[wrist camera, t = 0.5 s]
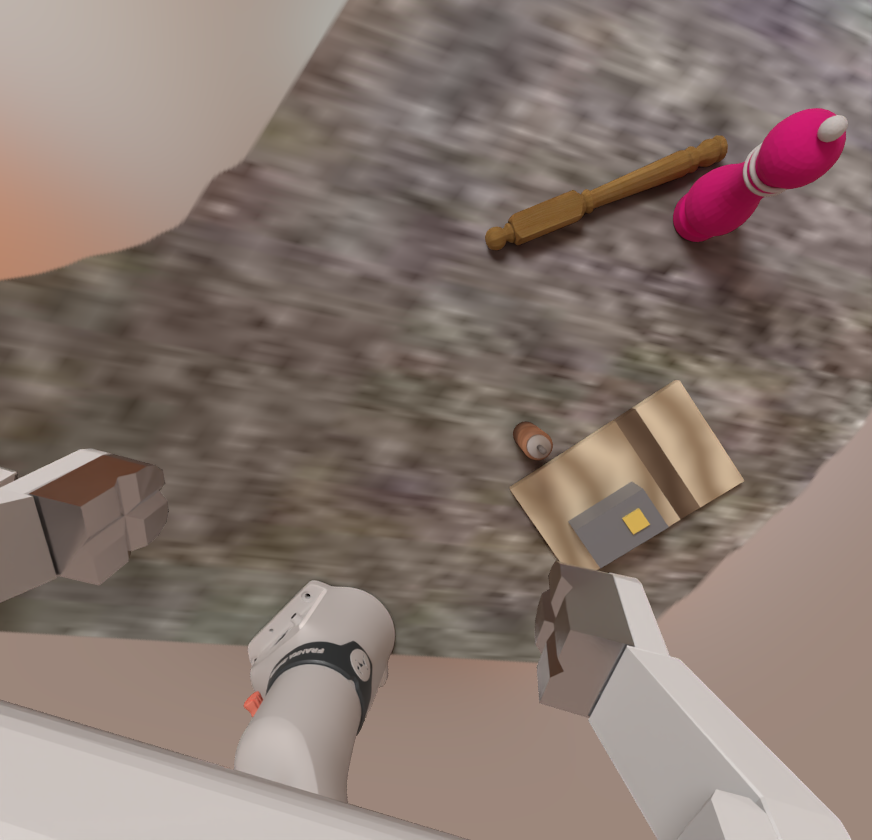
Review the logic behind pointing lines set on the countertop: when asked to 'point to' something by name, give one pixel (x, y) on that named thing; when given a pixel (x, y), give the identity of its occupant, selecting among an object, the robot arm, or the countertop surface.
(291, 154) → the countertop surface
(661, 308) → the countertop surface
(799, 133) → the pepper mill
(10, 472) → the skyscraper
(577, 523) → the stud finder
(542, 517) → the subfloor panel
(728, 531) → the countertop surface
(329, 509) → the countertop surface
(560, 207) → the tap handle
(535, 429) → the awl
